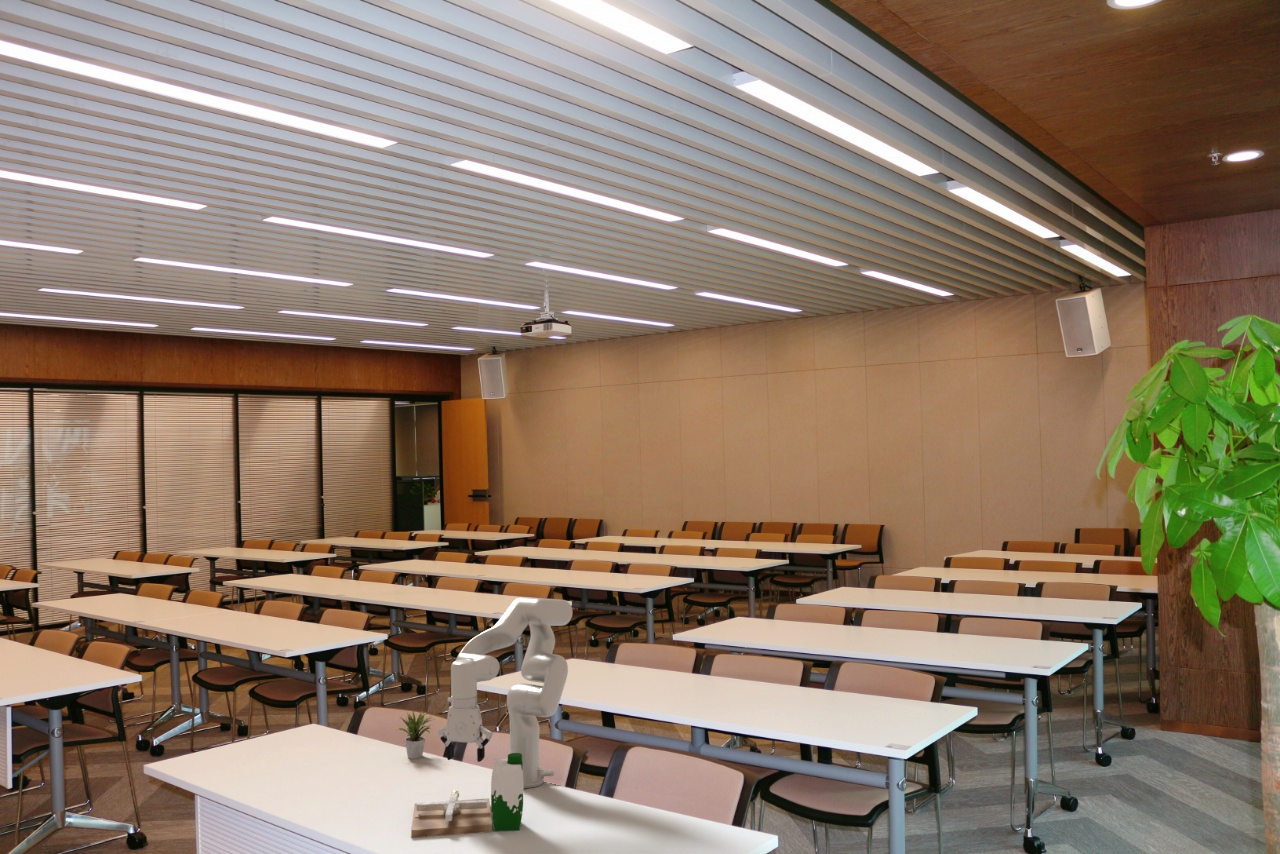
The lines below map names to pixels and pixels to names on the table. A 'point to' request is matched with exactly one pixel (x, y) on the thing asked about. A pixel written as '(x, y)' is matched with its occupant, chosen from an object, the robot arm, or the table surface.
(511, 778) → the milk carton
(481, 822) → the stand plate
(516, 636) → the robot arm
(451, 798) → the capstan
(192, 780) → the table surface
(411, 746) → the house plant
